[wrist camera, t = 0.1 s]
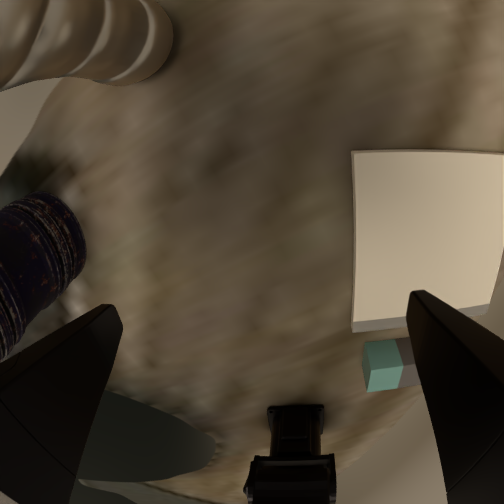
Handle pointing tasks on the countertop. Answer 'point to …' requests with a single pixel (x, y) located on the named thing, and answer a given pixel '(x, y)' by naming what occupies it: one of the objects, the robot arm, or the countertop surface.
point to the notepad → (424, 231)
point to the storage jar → (35, 260)
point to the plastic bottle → (82, 40)
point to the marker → (389, 365)
